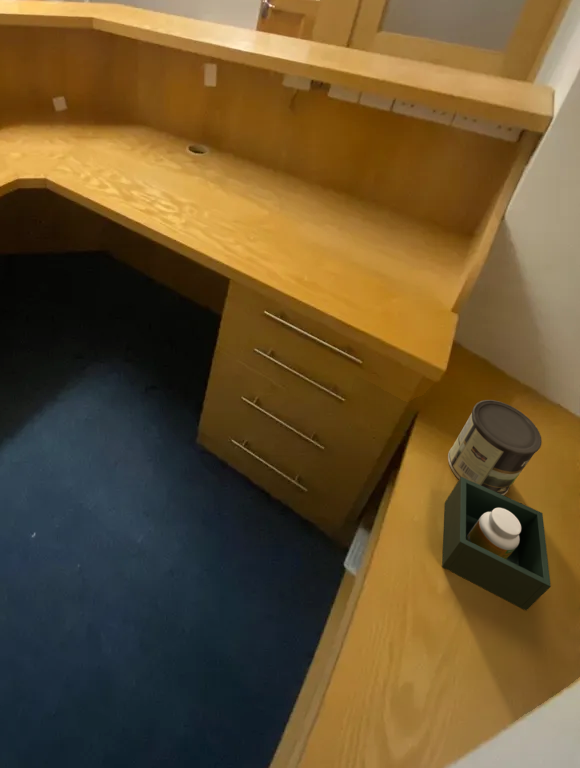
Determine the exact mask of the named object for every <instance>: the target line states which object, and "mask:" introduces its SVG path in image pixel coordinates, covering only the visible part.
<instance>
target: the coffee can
mask: <svg viewBox="0 0 580 768" xmlns="http://www.w3.org/2000/svg"><path fill="white" fill-rule="evenodd" d="M542 443H543V442H542V436H541V433H540V431H539V429H538V427H537V426H536V424H535V423H534V422H533V421H532V420H531V419H530V417H528V416H527V415H526V414H524V413H523V412H522V411H521V410H519V409H518V408H516V407H514V406H512V405H510V404H508V403H505V402H502V401H499V400H494V399H484V400H481V401H478V402H476V404H475V405H474V406H473V408H472V410H471V413H470V415H469V417H468V419H467V421H466V422H465V424H464V426H463V428H462V429H461V431H460V433H459V434H458V436H457V438H456V440H455V441H454V443H453V445H452V447H450V449H449V450H448V452H447V453H448V454H447V460H448V464H449V467H450V469H451V471H452V473H453V474H454V475H455V477H456V478H457V479H458V480H459V479H460V478H461V477H463V478H466V479H468V480H470V481H472V482H475V483H477V484H479V485H481V486H483V487H486V488H488V489H490V490H492V491H495V492H497V493H499V494H501V495H503V496H506V494H507V493H508V492H509V489H510V488H511V486H513V483H515V481H516V479H518V477H519V475H520V474H521V473H522V471H523V470H524V469H525V467H526V466H527V465H528V463H529V462H530V461H531V459H532V458H533V457H534V455H535V454H536V453H537V452H538V451H539V450H540V448H541V447H542Z"/></svg>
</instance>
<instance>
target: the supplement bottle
mask: <svg viewBox="0 0 580 768" xmlns="http://www.w3.org/2000/svg"><path fill="white" fill-rule="evenodd" d="M520 532H521V524H520V522H519V521H518V519H517V518H516V517H515V516H514V515H513V514H512V513H511V512H510V511H508V510H506V509H503V508H495V509H493V511H492V512H486V513H484V514H483V515H482V516H481V517H480V518H479V520H478V521H477V522H476V524H475V525H474V526H473V528H472V529H471V531H470V532H469V533H468V535H467V537H466V540H467V541H469V542H472V543H474V544H476V545H478V546H480V547H482V548H484V549H486V550H488V551H490V552H492V553H494V554H496V555H498V556H500V557H502V558H504V559H507V558H508V557H509V555H510V554H511V553H512V552H513V551H514V550H515V548H516V547H517V546H518V544H519V541H520V538H519V534H520Z"/></svg>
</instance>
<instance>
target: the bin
mask: <svg viewBox="0 0 580 768" xmlns="http://www.w3.org/2000/svg"><path fill="white" fill-rule="evenodd" d="M495 508H503V509H506V510H508V511H510V512H511V513H512V514H513V515H514V516H515V517H516V518H517V519H518V521H519V522H520V524H521V532H520V534H519V538H520V541H519V544H518V546H517V547H516V548H515V550H514V551H513V552H512V553H511V554H510V555H509V557H508V558H507V559H504V558H502V557H500V556H498V555H496V554H494V553H492V552H490V551H488V550H486V549H484V548H482V547H480V546H478V545H476V544H474V543H472V542H469V541H467V540H466V537H467V535H468V533H469V532H470V531H471V529H472V528H473V526H474V525H475V524H476V522H477V521H478V520H479V518H480V517H481V516H482V515H483V514H484V513H486V512H492V511H493V509H495ZM443 512H444V513H443V531H442V532H443V533H442V534H443V537H442V556H441V558H442V560H441V567H442V568H443V569H446V570H447V571H449V572H451V573H453V574H455V575H457V576H459V577H461V578H463V580H467V581H468V582H470V583H473V584H474V585H476V586H478V587H480V588H482V589H484V590H486V591H488V592H489V593H491V594H493V595H495V596H496V597H499V598H501V599H503V600H505V601H506V602H509V603H510V604H513V606H516V607H517V608H520V609H521V610H524V611H528V610H529V609H530V608H531V607H532V606H533V605H534V604H535V603H536V602H537V601H538V600H539V599H540V598H541V597H542V596H543V595H544V594H545V593H546V592H547V591H548V590H549V589H550V588H551V586H552V585H551V577H550V576H551V575H550V567H549V559H548V549H547V541H546V540H547V539H546V533H545V531H546V530H545V524H544V523H545V522H544V515H543V512H542V511H539V510H537V509H535V508H533V507H531V506H528V505H526V504H523V503H522V502H519V501H517V500H514V499H513V498H510V497H508V496H506V495H501V494H499V493H497V492H495V491H492V490H490V489H488V488H486V487H483V486H481V485H479V484H477V483H475V482H472V481H470V480H468V479H466V478H463V477H461V478H460V479H458V481H457V483H456V484H455V485H454V487H453V489H452V490H451V492H450V493H449V495H448V497H447V498H446V500H445V502H444V510H443Z"/></svg>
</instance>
